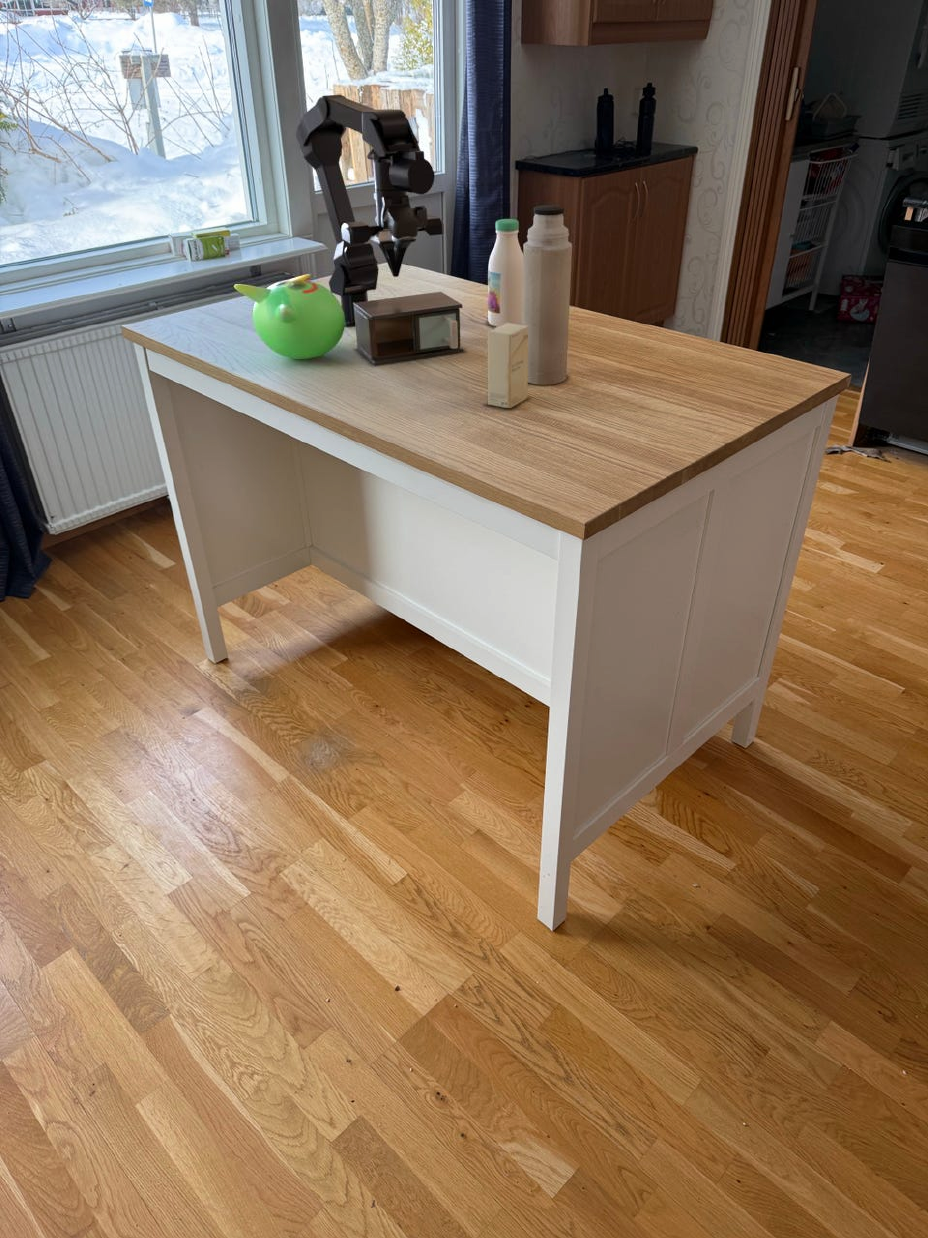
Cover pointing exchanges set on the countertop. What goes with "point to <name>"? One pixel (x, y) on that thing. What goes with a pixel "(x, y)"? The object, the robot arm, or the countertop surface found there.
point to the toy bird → (296, 317)
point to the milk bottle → (505, 276)
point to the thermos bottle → (547, 295)
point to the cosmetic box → (507, 365)
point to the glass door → (437, 330)
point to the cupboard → (397, 326)
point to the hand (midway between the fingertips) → (395, 276)
